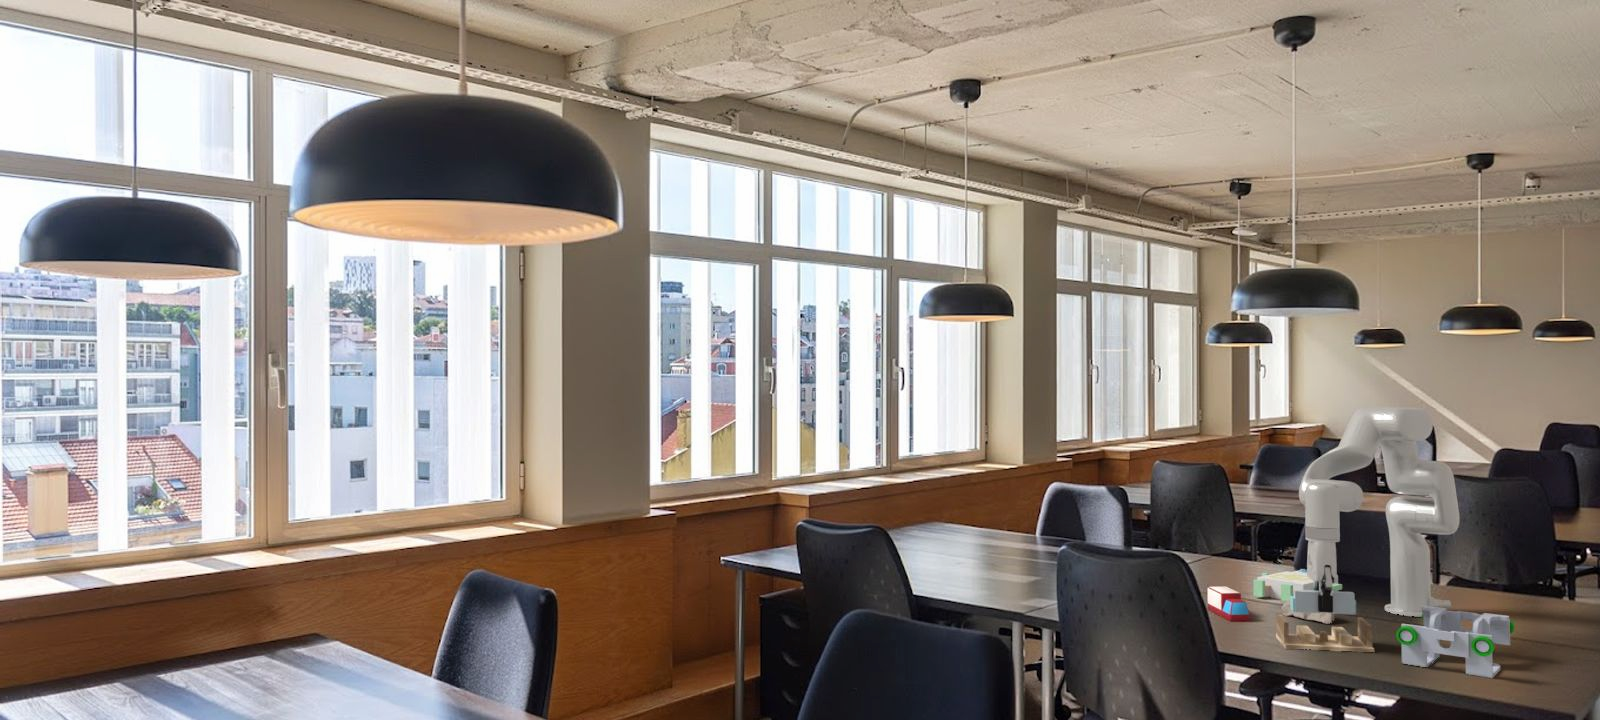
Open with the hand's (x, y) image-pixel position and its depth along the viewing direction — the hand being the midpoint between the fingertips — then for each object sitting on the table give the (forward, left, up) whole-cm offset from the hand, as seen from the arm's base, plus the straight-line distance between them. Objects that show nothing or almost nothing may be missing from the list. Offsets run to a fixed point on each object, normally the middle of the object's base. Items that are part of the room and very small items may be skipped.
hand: (1323, 609), depth 266 cm
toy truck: (+17, -30, -9) cm, 36 cm away
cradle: (0, -1, -9) cm, 9 cm away
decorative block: (-6, -61, -9) cm, 62 cm away
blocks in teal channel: (0, +1, -1) cm, 1 cm away
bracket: (-26, +10, -9) cm, 29 cm away
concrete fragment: (-3, -30, -9) cm, 31 cm away
